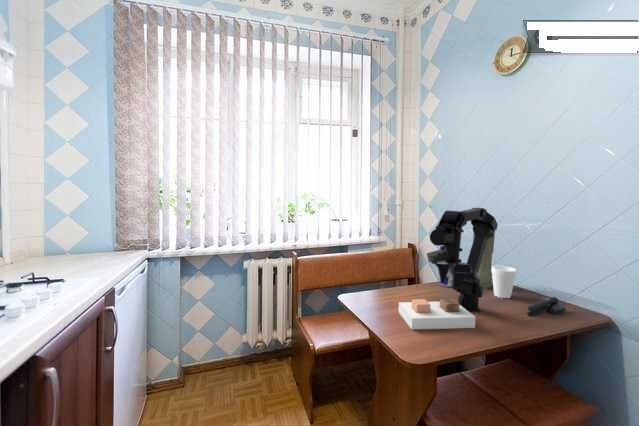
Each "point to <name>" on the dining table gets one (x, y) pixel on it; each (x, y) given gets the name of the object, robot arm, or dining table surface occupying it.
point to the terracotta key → (420, 306)
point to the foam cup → (503, 280)
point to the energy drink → (447, 280)
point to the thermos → (486, 264)
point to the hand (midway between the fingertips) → (448, 285)
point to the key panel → (436, 317)
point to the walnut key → (449, 305)
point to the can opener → (545, 306)
